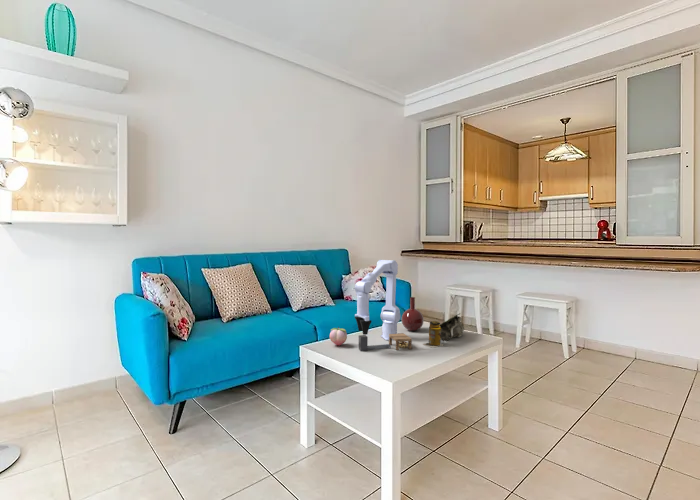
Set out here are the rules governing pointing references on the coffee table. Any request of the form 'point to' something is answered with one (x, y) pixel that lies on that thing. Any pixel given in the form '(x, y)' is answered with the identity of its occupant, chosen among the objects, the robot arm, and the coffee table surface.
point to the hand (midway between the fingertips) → (362, 332)
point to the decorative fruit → (338, 336)
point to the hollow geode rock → (451, 328)
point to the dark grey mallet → (364, 345)
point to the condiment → (434, 335)
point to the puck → (403, 344)
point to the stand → (400, 339)
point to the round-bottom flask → (412, 317)
